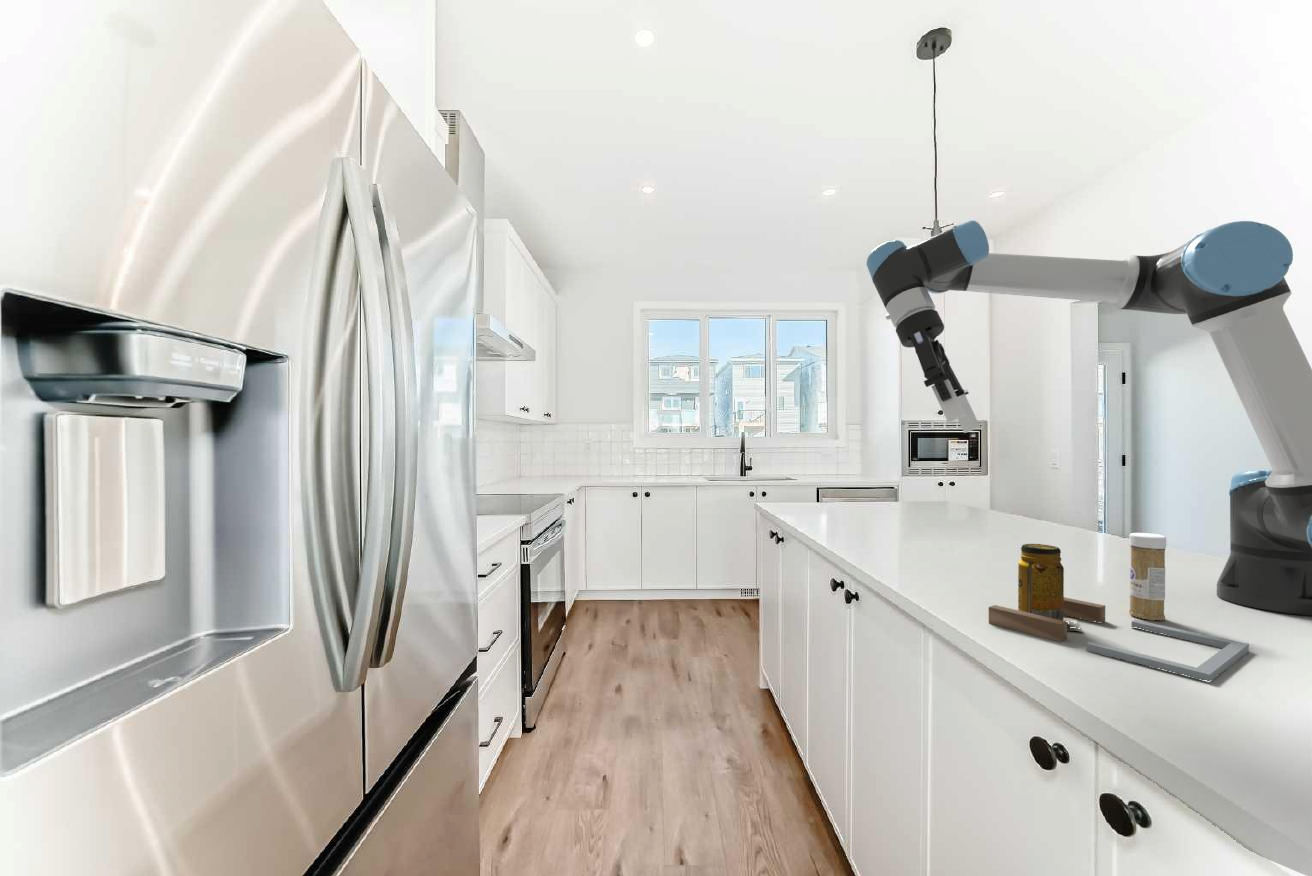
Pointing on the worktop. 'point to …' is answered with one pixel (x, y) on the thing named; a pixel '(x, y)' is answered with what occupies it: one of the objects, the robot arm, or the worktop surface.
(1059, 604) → the condiment
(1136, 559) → the toothpick container
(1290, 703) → the worktop surface
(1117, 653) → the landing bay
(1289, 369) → the robot arm
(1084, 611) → the wooden blocks
